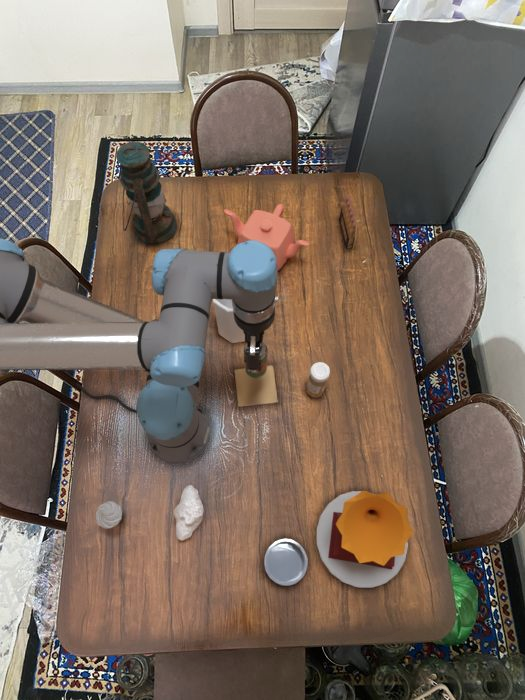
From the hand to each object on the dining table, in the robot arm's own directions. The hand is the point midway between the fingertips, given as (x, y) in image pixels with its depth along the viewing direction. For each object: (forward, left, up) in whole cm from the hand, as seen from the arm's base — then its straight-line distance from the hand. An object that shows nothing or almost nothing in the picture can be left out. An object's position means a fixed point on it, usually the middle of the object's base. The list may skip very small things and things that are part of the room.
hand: (255, 355), depth 113 cm
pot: (0, +40, -21) cm, 45 cm away
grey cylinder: (+9, -41, -20) cm, 47 cm away
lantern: (-33, +47, -21) cm, 61 cm away
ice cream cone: (-29, -34, -21) cm, 49 cm away
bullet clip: (+23, +48, -21) cm, 57 cm away
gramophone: (+26, -35, -21) cm, 48 cm away
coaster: (0, 0, -20) cm, 20 cm away
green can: (0, 0, -8) cm, 8 cm away
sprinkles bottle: (+15, 0, -21) cm, 25 cm away
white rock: (-13, -32, -21) cm, 40 cm away
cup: (-6, +17, -21) cm, 27 cm away
